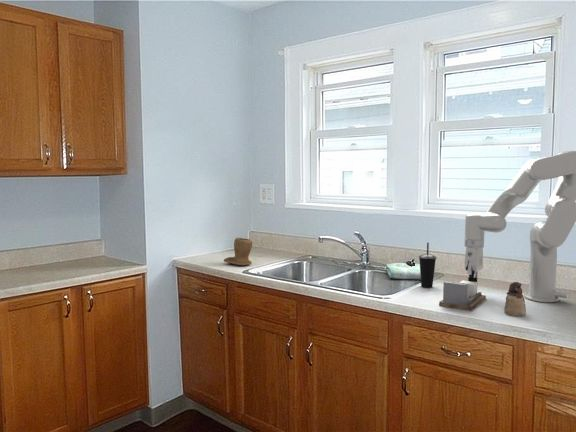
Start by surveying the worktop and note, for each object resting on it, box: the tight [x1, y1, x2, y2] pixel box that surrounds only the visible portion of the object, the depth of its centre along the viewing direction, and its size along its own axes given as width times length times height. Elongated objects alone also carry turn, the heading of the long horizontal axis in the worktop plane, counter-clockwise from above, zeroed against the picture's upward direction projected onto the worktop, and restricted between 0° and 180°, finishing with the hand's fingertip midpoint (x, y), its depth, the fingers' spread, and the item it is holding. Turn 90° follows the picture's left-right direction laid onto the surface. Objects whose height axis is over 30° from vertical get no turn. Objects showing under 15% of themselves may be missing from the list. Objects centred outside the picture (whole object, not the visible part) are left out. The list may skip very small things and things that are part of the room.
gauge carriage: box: [459, 280, 478, 297], centre depth 195 cm, size 9×10×5 cm
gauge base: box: [438, 291, 487, 312], centre depth 192 cm, size 12×20×3 cm, turn 143°
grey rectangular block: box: [442, 280, 470, 306], centre depth 185 cm, size 9×3×8 cm, turn 53°
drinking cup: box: [418, 242, 437, 289], centre depth 217 cm, size 8×8×20 cm
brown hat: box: [223, 237, 253, 266], centre depth 269 cm, size 15×12×15 cm
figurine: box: [503, 281, 527, 318], centre depth 176 cm, size 7×7×12 cm
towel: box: [385, 262, 421, 281], centre depth 240 cm, size 18×21×5 cm
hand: (472, 286), depth 202 cm, fingers closed
